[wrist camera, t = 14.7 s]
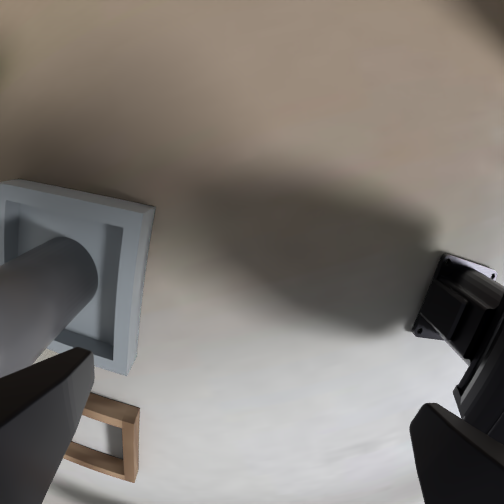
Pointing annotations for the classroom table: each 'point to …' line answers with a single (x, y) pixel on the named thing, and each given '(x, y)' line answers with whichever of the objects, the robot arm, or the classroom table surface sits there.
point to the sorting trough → (102, 252)
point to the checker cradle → (129, 423)
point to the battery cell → (42, 298)
